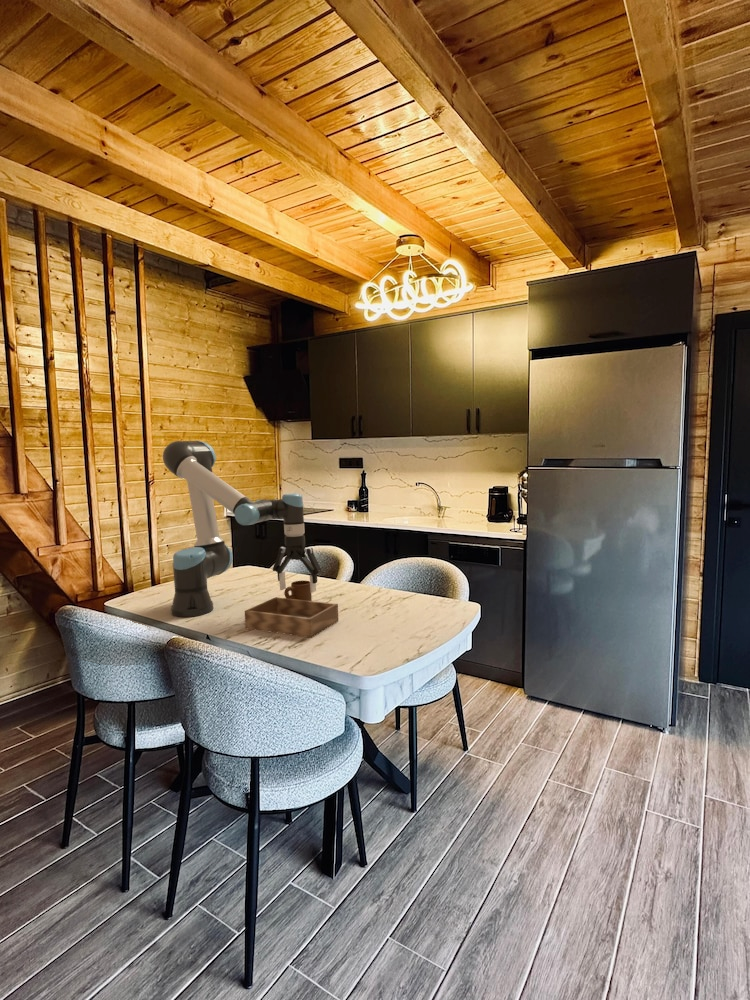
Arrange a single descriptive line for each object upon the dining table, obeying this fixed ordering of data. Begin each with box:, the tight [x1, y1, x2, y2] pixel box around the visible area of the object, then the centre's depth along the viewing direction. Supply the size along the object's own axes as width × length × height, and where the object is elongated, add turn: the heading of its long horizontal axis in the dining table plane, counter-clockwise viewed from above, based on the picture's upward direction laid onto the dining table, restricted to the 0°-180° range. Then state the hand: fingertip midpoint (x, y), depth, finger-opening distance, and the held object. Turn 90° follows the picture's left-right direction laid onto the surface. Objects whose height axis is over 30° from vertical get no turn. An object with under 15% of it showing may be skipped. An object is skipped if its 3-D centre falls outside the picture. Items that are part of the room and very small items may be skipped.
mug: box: [283, 580, 313, 601], centre depth 204 cm, size 12×8×9 cm, turn 141°
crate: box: [244, 596, 339, 638], centre depth 185 cm, size 26×18×6 cm
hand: (297, 590), depth 204 cm, fingers open, 13 cm apart
